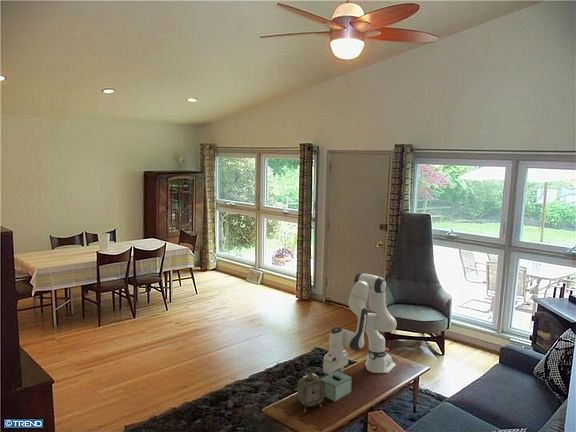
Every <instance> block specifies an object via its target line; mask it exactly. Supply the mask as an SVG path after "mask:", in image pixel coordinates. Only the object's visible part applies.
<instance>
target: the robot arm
mask: <svg viewBox="0 0 576 432" xmlns="http://www.w3.org/2000/svg"><path fill="white" fill-rule="evenodd" d="M353 284H354V285H353V287H352V289H351V291H350V294H349V297H348V300H347V305H348V307H349V309H350V310H351V311H352V312H353V313H354V314H355V316H357V325H356V331H355V332H353V331H351V330H348V329H343V328H342V327H338V326H337V327H332V328H331V329H330V331H329V337H328V344H329V348H328V351H327V353H326V354H324V356H323V363H322V371H323V373H324V374H326V375H329V378H330V379H332V378H333V375H331V374H332V373H333V372H335V371H339V373H340V374H341V373H343V371H344V369H345V367H346V366H347V365H348V364H349V356H348V351H347V350H344V347H345V348H348V349H350V350H353V352H358V351H360V350H362V349H363V348H364V347H365V338H366V337H365V336H366V334H367V337H368V348H367V355H366V361H365V363H364V366H365V368H366V370H367V371H368V372H370V373H373V374H374V373H375V374H389V373H390V371H392V370H393V369H394V368H395V367H396V363H395V362H394V361H393V357H392V356H391V355H390V354H388V353H387V352H389V351H390V349H389V348H387V347H386V339H385V337H384V336H383V334H381V333H380V332H386V333H387V332H388V333H390V332H394V331H395V330H396V328H397V324H398V323H397V320H396V318H395V317H394V316H393V315H391V313H390V311H389V310H388V308H387V303H386V299H387V297H386V289H387V285H388V284H387V280H386V279H385V278H384V277H382V276H378V275H374V274H371V273H370V274H369V273H364V272H358V273H357V274H356V275H355V276H354V277H353ZM367 301H368V306H369V308H370V310H371V311H373V312H368V310H367V309H368V308H367ZM343 374H344V373H343Z"/></svg>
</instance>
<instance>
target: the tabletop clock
mask: <svg viewBox="0 0 576 432" xmlns="http://www.w3.org/2000/svg"><path fill="white" fill-rule="evenodd" d="M310 369H314V371H310V372H309V373H308V370H310ZM316 371H317V368H316V367H314V366H310V367H307V369H305V374H306V375H307V377H305V378H303V377H302V378H300V379H299V380H298V381H297V389H296V390H297V391H296V392H297V400H298V401H299V402H300V404H302V406H304V409H303V412H304V413H306V412H307V408H309V407H315V406H317V405H319V408H322V407H323V405H322V404H321V403H323V402H324V401H325V398H326V397H325V384H324V381H323V380H321V378H320V376H318V375H317V376H318V377H317V376H314V375H313V373H314V374H315V373H316Z"/></svg>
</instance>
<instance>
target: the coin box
mask: <svg viewBox="0 0 576 432" xmlns="http://www.w3.org/2000/svg"><path fill="white" fill-rule="evenodd" d="M331 375H333V378H332V379H330V378H329V375H328V374H326V375H325V376H323V377H322V378H320V379H321V380H323V381H324V384H325V397H324V398H326V399H329V400H330V401H332V402H334V403H336V402H337V401H339V400H341V399H343V398H344V397H346V396H348V395H350V394H351V393H352V381H353V380H352V376H349V375H347V374H345V373H341V374H340V373H339V370H336V371H334V372H332V374H331Z"/></svg>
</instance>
